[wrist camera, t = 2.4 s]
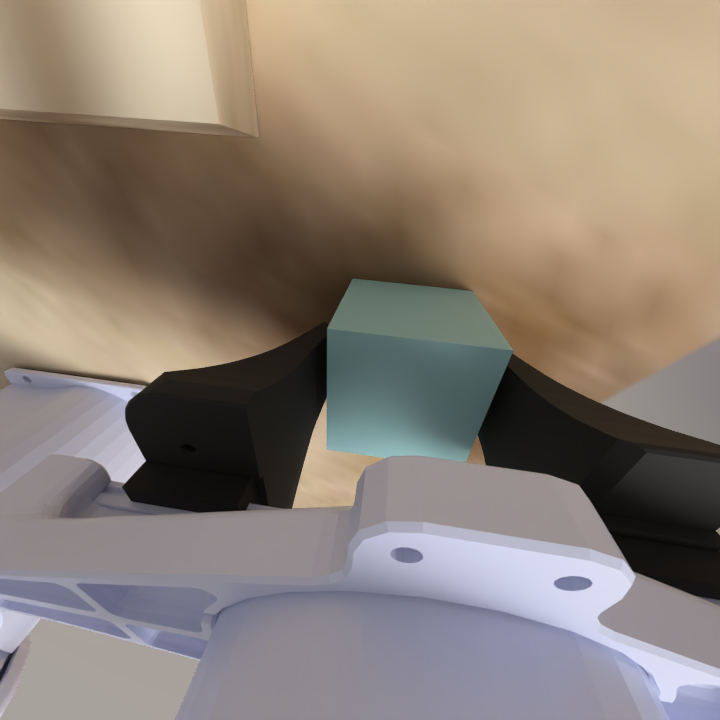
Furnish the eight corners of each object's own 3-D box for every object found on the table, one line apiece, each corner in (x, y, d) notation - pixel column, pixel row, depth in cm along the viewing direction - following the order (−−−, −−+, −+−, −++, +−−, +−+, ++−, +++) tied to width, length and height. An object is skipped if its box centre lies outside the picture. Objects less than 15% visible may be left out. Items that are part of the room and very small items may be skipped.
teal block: (347, 373, 14) (326, 449, 10) (352, 277, 12) (326, 328, 8) (444, 385, 14) (462, 469, 10) (471, 290, 11) (513, 350, 7)
